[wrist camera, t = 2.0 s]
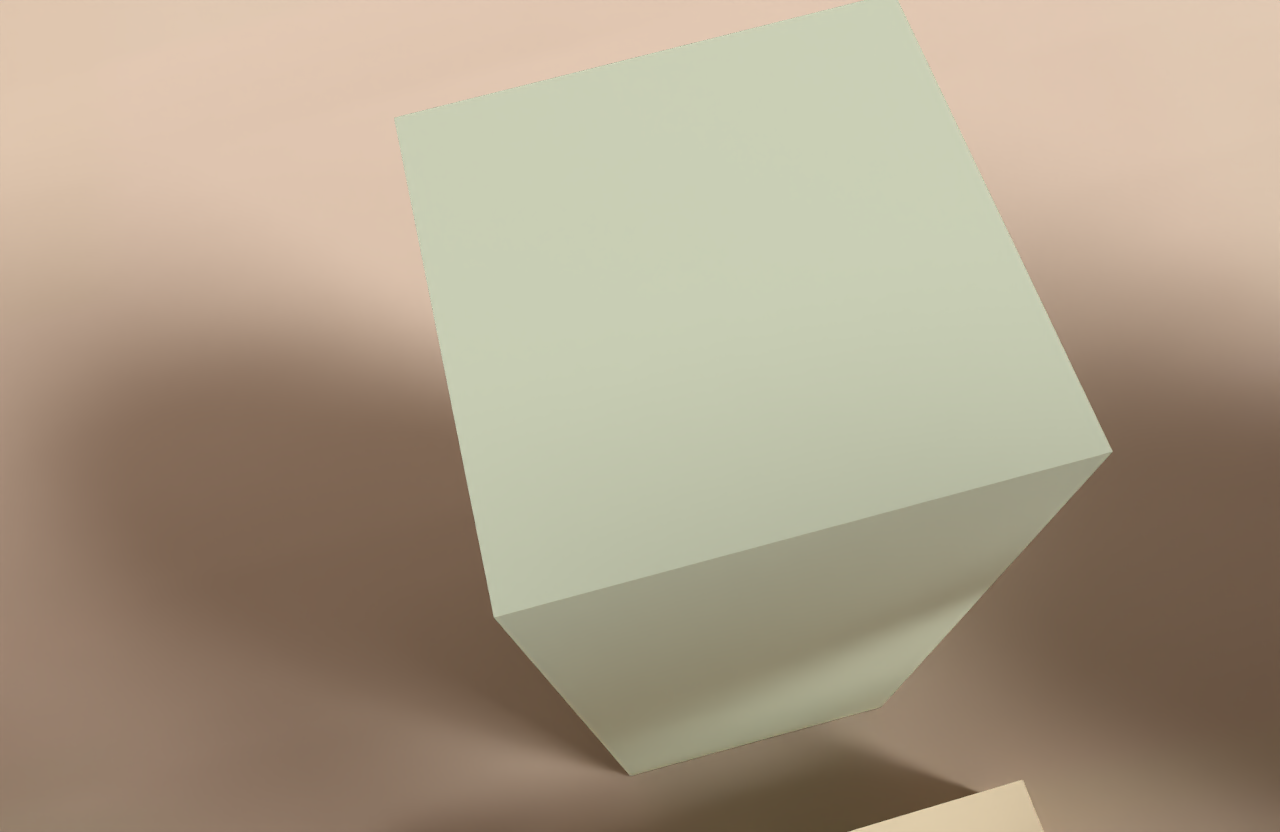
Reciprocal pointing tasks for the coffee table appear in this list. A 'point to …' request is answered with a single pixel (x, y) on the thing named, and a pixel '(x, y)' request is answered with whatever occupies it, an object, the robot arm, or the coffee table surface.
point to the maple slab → (971, 814)
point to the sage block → (738, 375)
